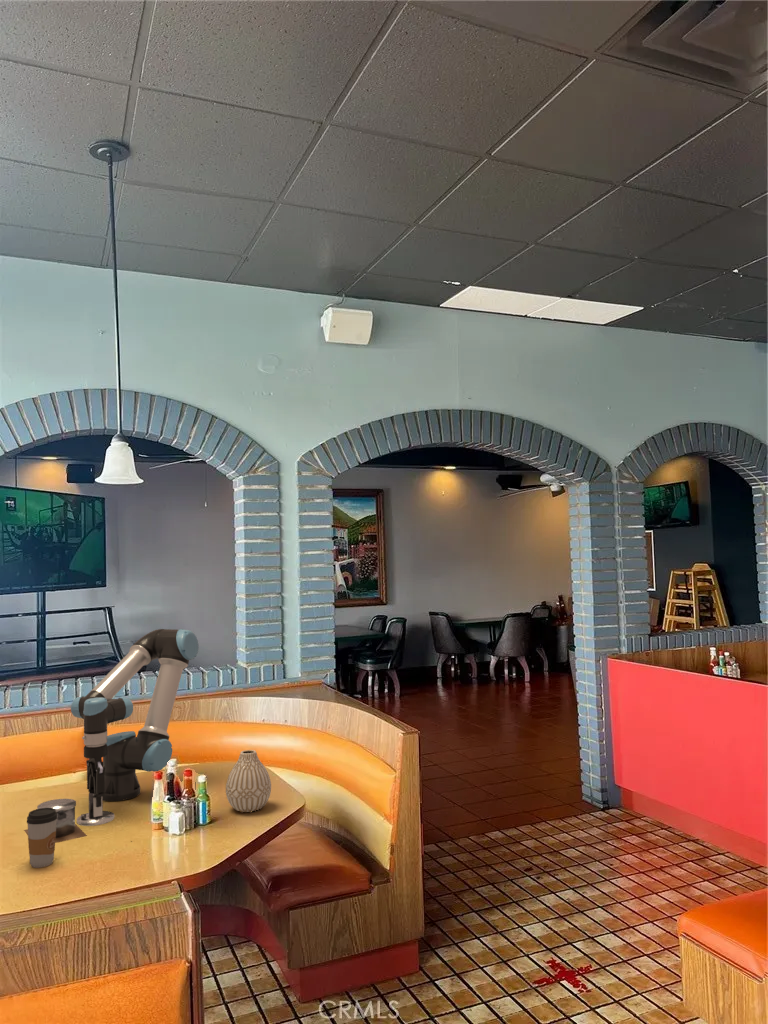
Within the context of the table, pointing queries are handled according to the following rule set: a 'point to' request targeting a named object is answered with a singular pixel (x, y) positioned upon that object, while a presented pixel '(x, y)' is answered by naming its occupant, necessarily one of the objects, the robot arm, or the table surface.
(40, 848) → the coffee cup
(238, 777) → the vase
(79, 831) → the walnut board
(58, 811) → the cooker pot
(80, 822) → the lid
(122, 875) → the table surface
